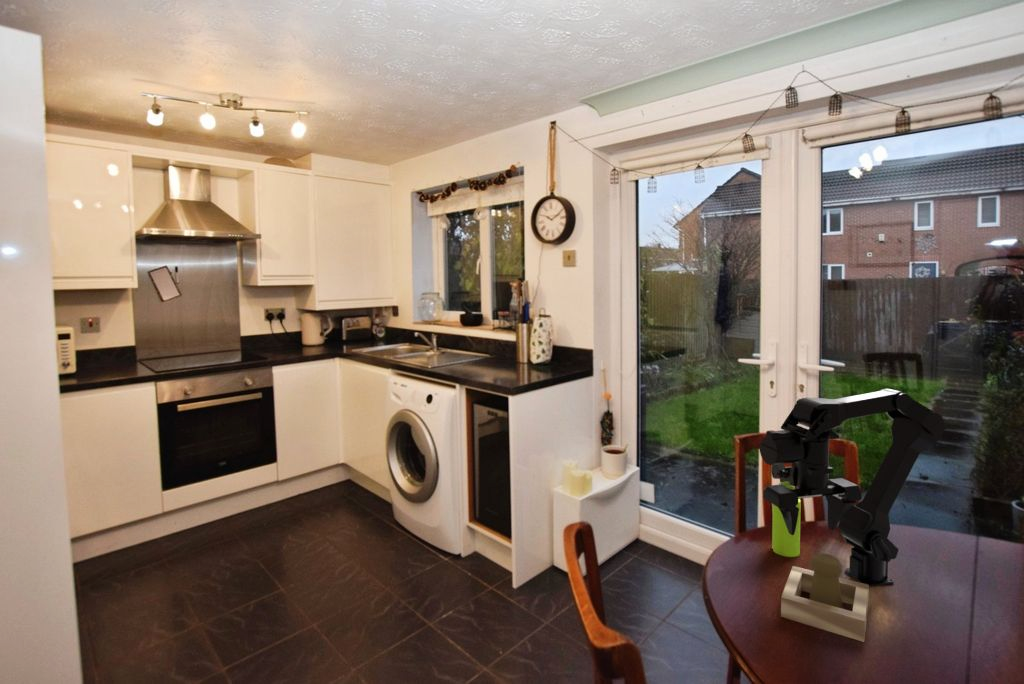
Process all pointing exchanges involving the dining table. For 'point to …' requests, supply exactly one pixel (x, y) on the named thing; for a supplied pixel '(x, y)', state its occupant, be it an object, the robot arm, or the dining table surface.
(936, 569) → the dining table surface
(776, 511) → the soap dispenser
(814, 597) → the olive round-headed peg
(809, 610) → the socket block
